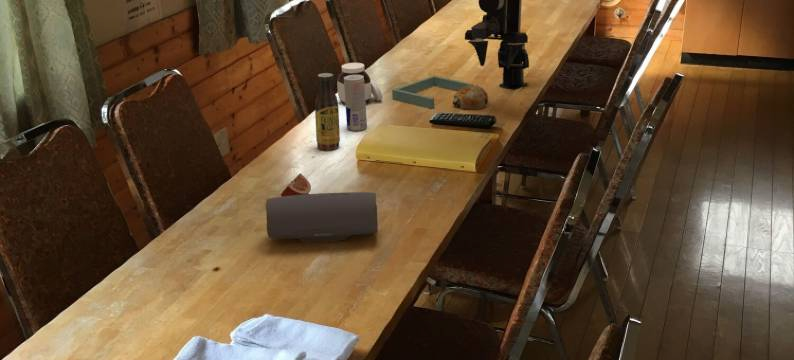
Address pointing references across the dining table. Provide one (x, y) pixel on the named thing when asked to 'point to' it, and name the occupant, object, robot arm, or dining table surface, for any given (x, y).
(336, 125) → the sauce bottle
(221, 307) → the dining table surface
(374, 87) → the spread jar
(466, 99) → the bread roll
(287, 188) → the fruit slice
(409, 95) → the teal u-shaped frame
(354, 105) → the beverage can
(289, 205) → the bluetooth speaker
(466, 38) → the robot arm
